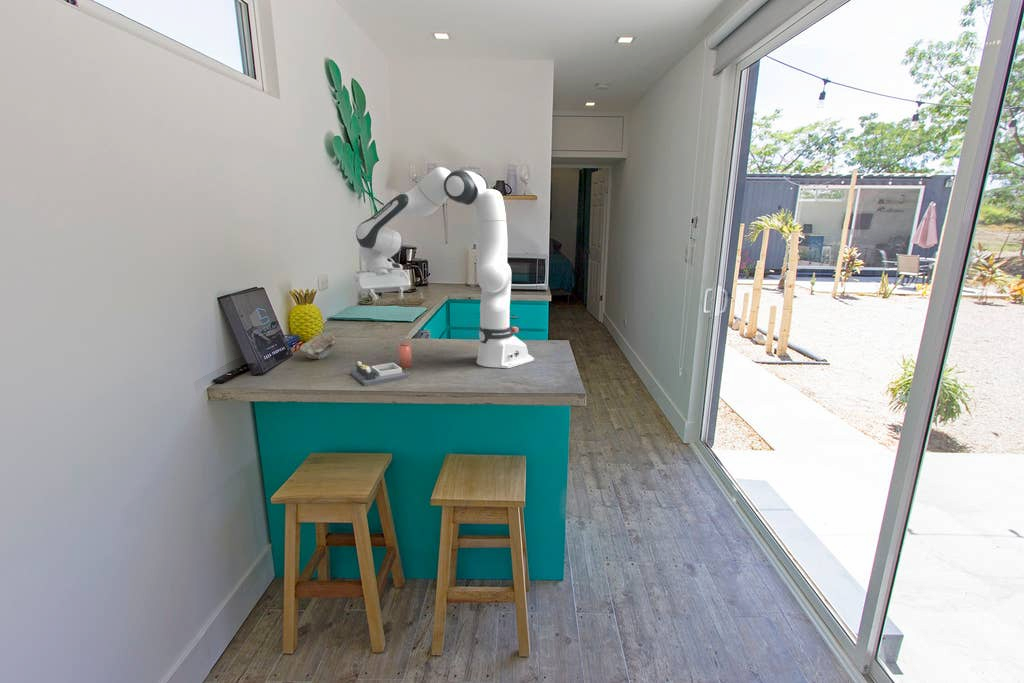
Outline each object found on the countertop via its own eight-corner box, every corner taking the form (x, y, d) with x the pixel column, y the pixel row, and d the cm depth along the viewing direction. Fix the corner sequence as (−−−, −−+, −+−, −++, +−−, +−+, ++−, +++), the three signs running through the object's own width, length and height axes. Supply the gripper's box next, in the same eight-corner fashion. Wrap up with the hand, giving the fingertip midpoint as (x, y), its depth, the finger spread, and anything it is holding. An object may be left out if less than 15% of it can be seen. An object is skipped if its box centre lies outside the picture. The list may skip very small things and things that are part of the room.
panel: (391, 367, 187) (390, 354, 186) (407, 377, 175) (406, 365, 174) (350, 374, 179) (349, 361, 177) (364, 385, 167) (363, 372, 165)
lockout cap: (409, 364, 190) (408, 341, 188) (414, 367, 186) (413, 344, 184) (397, 366, 187) (396, 343, 185) (402, 369, 184) (401, 345, 181)
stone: (326, 364, 190) (324, 338, 188) (294, 361, 194) (291, 335, 191) (342, 356, 200) (340, 332, 198) (311, 353, 204) (309, 329, 201)
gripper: (354, 266, 188) (364, 296, 183) (405, 264, 199) (416, 292, 194) (351, 277, 193) (360, 306, 187) (401, 274, 204) (412, 302, 199)
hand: (389, 299), depth 191 cm, fingers open, 8 cm apart
